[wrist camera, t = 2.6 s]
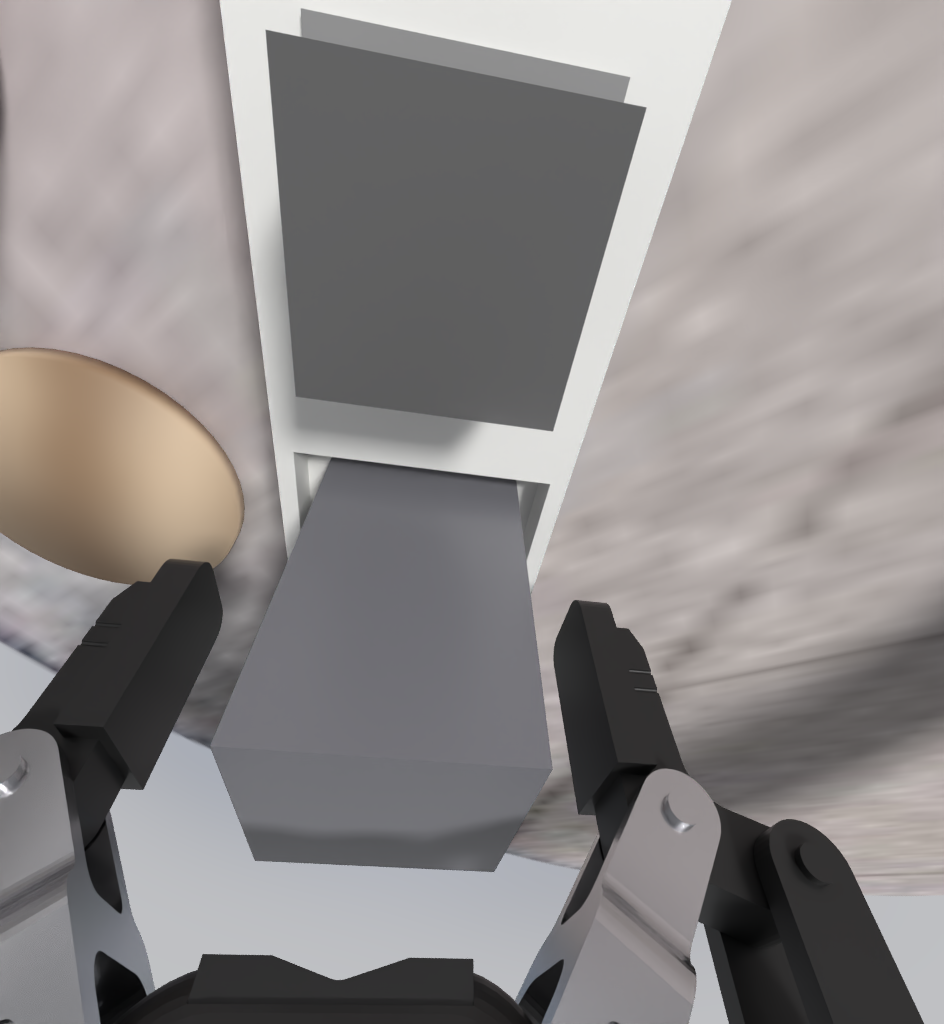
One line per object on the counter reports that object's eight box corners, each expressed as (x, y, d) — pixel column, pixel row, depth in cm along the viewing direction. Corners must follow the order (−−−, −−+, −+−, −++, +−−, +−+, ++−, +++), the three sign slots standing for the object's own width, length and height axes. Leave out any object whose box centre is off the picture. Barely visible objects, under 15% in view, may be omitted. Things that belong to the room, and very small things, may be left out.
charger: (515, 477, 12) (552, 770, 7) (485, 598, 15) (493, 873, 9) (332, 454, 12) (209, 746, 6) (337, 583, 14) (255, 862, 9)
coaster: (220, 372, 12) (210, 381, 12) (259, 583, 17) (253, 596, 17) (-124, 324, 12) (-148, 333, 11) (19, 559, 17) (6, 572, 16)
